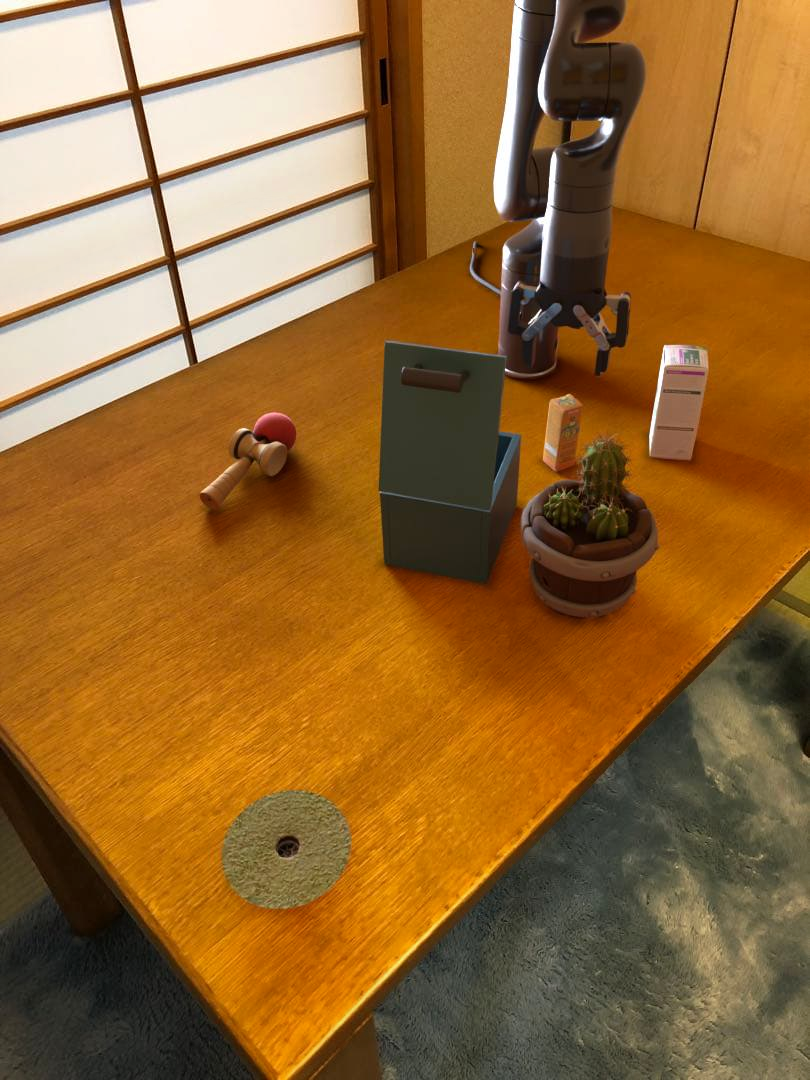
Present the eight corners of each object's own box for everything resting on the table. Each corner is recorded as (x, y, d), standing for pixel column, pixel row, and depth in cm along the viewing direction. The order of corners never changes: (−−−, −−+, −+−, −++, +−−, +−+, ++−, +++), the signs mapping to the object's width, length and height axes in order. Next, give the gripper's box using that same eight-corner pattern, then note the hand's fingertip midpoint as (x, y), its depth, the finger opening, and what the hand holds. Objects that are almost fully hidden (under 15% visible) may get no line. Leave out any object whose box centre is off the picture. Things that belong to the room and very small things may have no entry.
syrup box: (691, 461, 120) (712, 367, 110) (647, 457, 121) (664, 364, 111) (690, 438, 124) (709, 345, 115) (647, 434, 125) (663, 342, 116)
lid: (387, 340, 92) (369, 351, 87) (506, 355, 88) (495, 368, 84) (380, 488, 99) (363, 506, 94) (491, 508, 96) (479, 527, 91)
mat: (284, 947, 71) (281, 936, 70) (198, 863, 77) (194, 851, 76) (379, 851, 77) (378, 839, 76) (292, 779, 83) (290, 767, 82)
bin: (422, 488, 117) (421, 419, 110) (516, 504, 114) (521, 434, 107) (384, 564, 106) (379, 493, 99) (487, 585, 103) (490, 512, 96)
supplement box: (556, 474, 119) (562, 410, 112) (542, 461, 121) (547, 398, 115) (576, 466, 120) (584, 403, 113) (562, 454, 122) (568, 391, 116)
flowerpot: (619, 656, 94) (647, 510, 81) (492, 605, 100) (498, 462, 87) (665, 575, 103) (697, 433, 90) (546, 533, 109) (560, 395, 96)
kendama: (241, 526, 114) (315, 441, 124) (222, 490, 110) (300, 404, 120) (199, 517, 118) (273, 435, 128) (179, 481, 114) (258, 399, 124)
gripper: (644, 235, 100) (625, 361, 111) (521, 224, 104) (514, 347, 114) (635, 261, 95) (617, 391, 105) (506, 248, 98) (501, 376, 109)
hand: (563, 368), depth 110 cm, fingers open, 8 cm apart
